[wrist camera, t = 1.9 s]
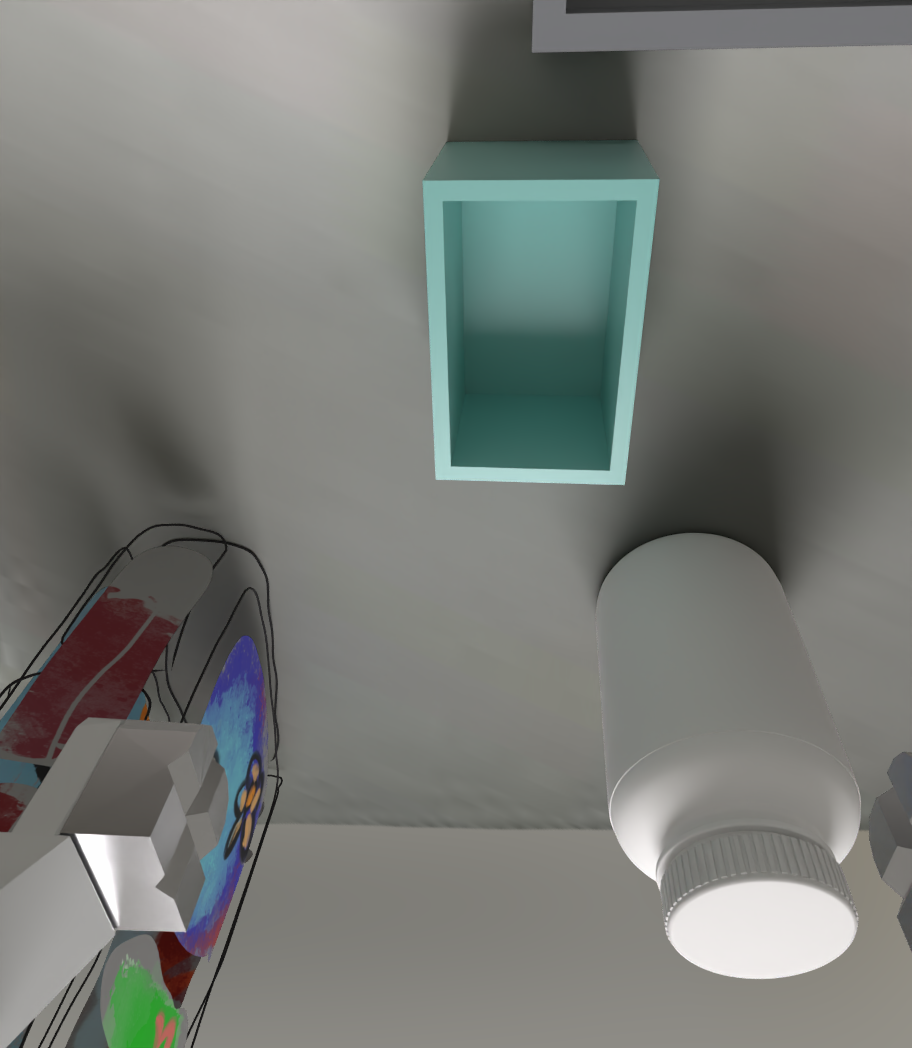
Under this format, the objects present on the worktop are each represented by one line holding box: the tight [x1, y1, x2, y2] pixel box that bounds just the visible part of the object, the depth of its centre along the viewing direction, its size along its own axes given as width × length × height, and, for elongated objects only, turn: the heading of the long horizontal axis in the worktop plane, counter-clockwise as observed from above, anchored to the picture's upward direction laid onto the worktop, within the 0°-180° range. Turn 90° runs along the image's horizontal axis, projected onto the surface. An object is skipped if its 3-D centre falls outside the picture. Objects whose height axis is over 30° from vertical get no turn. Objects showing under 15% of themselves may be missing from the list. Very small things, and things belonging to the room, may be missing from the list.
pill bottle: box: [596, 533, 861, 979], centre depth 29 cm, size 8×8×15 cm
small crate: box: [423, 140, 659, 485], centre depth 25 cm, size 6×9×6 cm, turn 1°
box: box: [0, 524, 283, 1048], centre depth 27 cm, size 25×6×24 cm, turn 176°
